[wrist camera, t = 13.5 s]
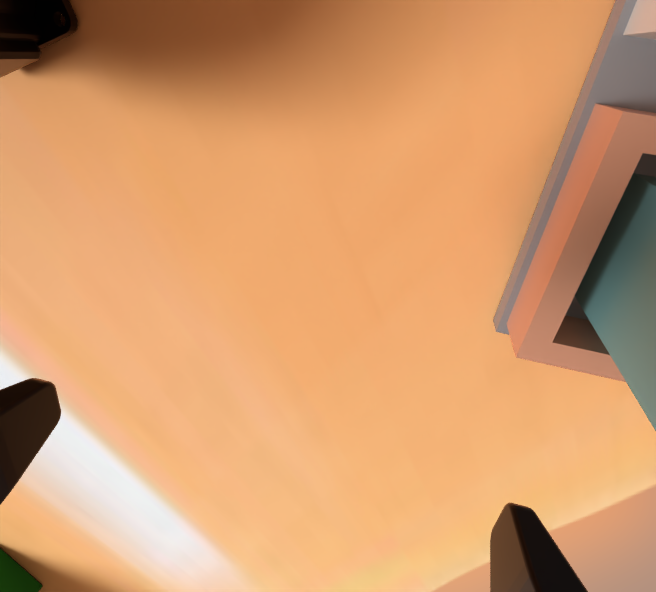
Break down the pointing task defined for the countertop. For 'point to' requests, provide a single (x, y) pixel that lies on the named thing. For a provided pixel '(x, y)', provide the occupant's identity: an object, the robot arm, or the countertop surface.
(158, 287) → the countertop surface
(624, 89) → the organiser
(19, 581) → the milk carton
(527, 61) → the countertop surface
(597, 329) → the plug
